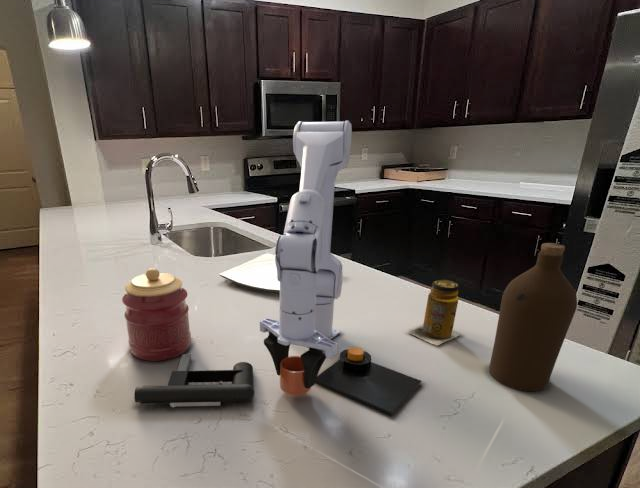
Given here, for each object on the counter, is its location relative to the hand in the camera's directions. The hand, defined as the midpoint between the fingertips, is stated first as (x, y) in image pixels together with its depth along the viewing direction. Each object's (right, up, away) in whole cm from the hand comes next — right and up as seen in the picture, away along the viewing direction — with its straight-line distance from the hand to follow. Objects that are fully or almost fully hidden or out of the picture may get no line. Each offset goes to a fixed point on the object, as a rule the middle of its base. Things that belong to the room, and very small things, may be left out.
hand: (295, 379), depth 72 cm
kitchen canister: (-27, +4, +17) cm, 33 cm away
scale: (+13, -2, +4) cm, 14 cm away
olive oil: (+42, -1, +5) cm, 42 cm away
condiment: (+33, +6, +21) cm, 39 cm away
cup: (0, -1, +1) cm, 1 cm away
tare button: (+12, +3, +8) cm, 15 cm away
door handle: (-17, -2, +4) cm, 18 cm away
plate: (0, +21, +57) cm, 60 cm away
